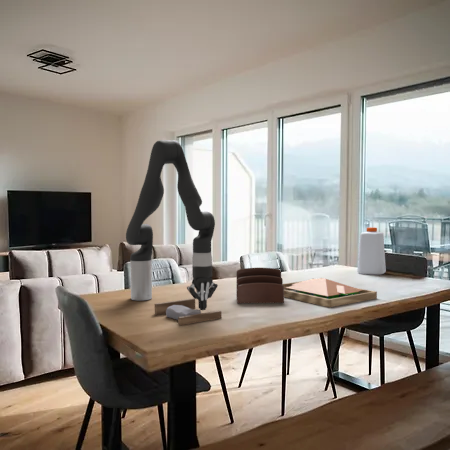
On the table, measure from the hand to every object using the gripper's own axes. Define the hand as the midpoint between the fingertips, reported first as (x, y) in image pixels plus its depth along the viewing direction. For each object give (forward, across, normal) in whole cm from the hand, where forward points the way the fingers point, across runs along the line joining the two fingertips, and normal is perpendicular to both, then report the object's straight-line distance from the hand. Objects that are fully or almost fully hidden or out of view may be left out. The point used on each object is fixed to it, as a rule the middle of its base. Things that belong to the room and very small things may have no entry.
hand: (202, 309), depth 168 cm
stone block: (+2, +8, 0) cm, 8 cm away
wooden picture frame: (+2, -62, +2) cm, 62 cm away
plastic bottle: (+2, -140, -28) cm, 143 cm away
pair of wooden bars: (+2, +7, 0) cm, 7 cm away
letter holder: (+2, -32, -5) cm, 33 cm away
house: (+2, -64, +1) cm, 64 cm away
